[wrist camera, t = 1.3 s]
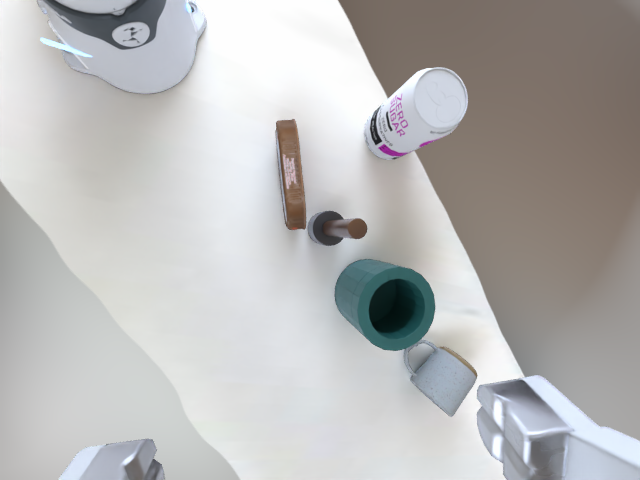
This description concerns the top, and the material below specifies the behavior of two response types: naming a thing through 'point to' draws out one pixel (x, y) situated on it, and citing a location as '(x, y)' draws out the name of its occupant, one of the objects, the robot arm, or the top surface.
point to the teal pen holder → (385, 303)
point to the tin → (290, 174)
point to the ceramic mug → (443, 377)
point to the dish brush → (334, 228)
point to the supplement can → (417, 113)
